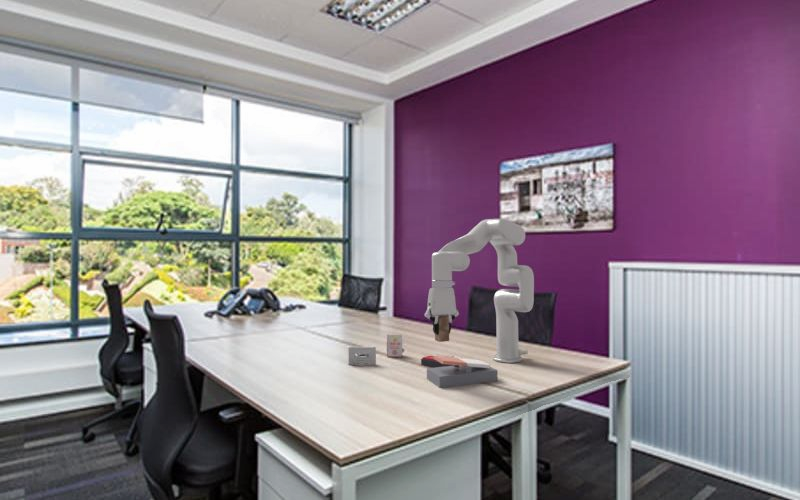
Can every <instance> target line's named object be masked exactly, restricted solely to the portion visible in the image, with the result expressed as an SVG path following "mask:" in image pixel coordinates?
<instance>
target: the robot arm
mask: <svg viewBox="0 0 800 500" xmlns="http://www.w3.org/2000/svg"><path fill="white" fill-rule="evenodd" d="M525 231H526V230H525V229H524V228H523V227H522V226H521V225H520V224H517V223H515V222H513V221H511V220H508V219H506V218H486V219H483V220H481V221H480V222H479V223H477V225H475V226H474V227H473V228H472V229H471V230H470V231H469V232H468V233H467V234H465V235H463V236H461V237H459V238H457V239H454V240H452V241H450V242H447V244H445V245H444V246H443V247H441V249H440V250H438V251H437V252H433V253H432V254H431V288H429V291H428V294H427V295H428V297H427V305H426V306H427V307H426V311H425V313H424V314H423V315H424V317H425V318H427V319H429V321H430V322H431V323H432V331H433V333H434V335H435V334H437V335H438V334H439V324H438V317H439V316H447V317H449V335H450V334H451V331H452V323H453V321H454V320H455V318H456V317H458V316H459V315H460V313H459V310H458V309H457V305H456V295H455V290H454V288H453V286H455V285H456V281H453V272H462V271H463V272H464V271H466V270H467V269H468V268H469V266H470V262H471V259H470V256H469V255H471V254H475V253H478V252H480V251H482V250H483V248H484V247H485V246H486V245H487V244H488V243H490V244H491V246H493V249H494V250H495V251H496V255H497V281H498V283H499V284H500V285H502V286H503V287H504V286H506V287H516V288H518V289H512V288H501V289H498V290H497V291H496V292H495V293H494V296H493V303H494V308H495V316H496V317H495V318H496V325H495V326H496V354H494V355H493V356H492V359H493V360H494V361H496V362H499V363H508V364H509V363H510V364H511V363H512V364H513V363H519V362H521V361H523V358H522V355H528V353H529V352H528V350H527V349H523V350H522V349H519V320H518V316H517V314H516V312H517V313H528V312H529V313H530V311H531V310H532V309H533V306H534V300H535V299H534V297H535V295H534V294H535V293H534V291H535V277H534V276H535V275H534V272H533V269H532V268H531V267H530V266H528V265H524V264H523V265H522V264H521V265H520V264H518V253H517V251H516V249H515V246H520V245H522V244H523V243H524V242H525V239H526V232H525Z"/></svg>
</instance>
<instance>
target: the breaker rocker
mask: <svg viewBox="0 0 800 500" xmlns="http://www.w3.org/2000/svg"><path fill="white" fill-rule="evenodd" d="M434 359H435V360H437V361H438V362H440V363H442V364H448V365H459V366H463V367H466V366H471V367H482V368H490V367H491V364H489V363H487V362H485V361H482V360H480V359H473V358H472V359H471V358H463V357H462V358H452V357H441V356H434Z"/></svg>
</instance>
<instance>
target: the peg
mask: <svg viewBox="0 0 800 500" xmlns="http://www.w3.org/2000/svg"><path fill="white" fill-rule="evenodd" d="M438 324H439V334H438V335H437V334H434V340H435V341H436V342H438V343H443V342H445V343H446V342H450V334H449V317H447V316H445V315H439V317H438Z"/></svg>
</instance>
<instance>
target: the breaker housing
mask: <svg viewBox="0 0 800 500" xmlns="http://www.w3.org/2000/svg"><path fill="white" fill-rule="evenodd" d="M498 374H499V373H498V369H495V368H493V367H491V366H490V368H482V367H471V366H466V367H463V366H459V365H453V366H445V367H436V368H432V367H428V368H426V380H428V381H429V382H431V383H432V384H434V386H436V387H438V388H439V389H440V388H448V387H457V386H458V387H459V386H465V385H473V384H475V385H476V384H481V383H490V382H498V377H499V376H498Z"/></svg>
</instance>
